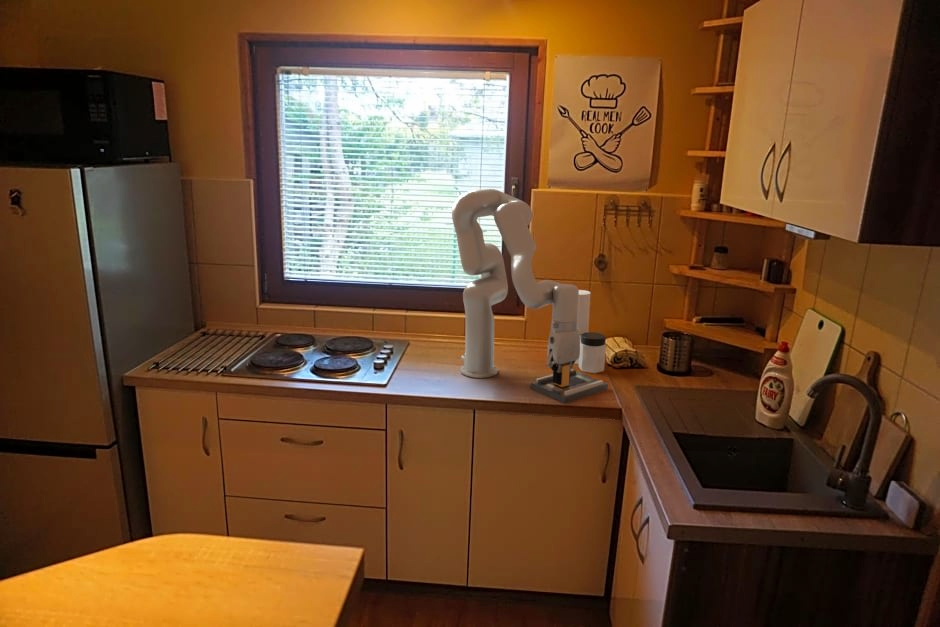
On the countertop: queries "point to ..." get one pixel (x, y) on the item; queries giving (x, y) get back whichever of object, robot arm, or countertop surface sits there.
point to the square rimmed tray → (571, 391)
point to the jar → (592, 352)
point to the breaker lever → (565, 374)
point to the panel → (575, 381)
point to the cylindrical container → (583, 313)
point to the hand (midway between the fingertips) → (561, 381)
